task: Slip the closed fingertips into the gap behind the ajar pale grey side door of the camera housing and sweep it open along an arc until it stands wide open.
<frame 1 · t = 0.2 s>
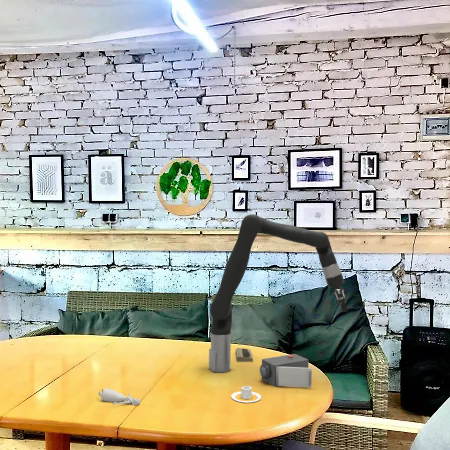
hand: (345, 309, 224), 31 cm above the table, tool tilted 20°, fingers open, 8 cm apart
camera housing: (284, 379, 223), on the table
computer: (243, 358, 256), on the table
candle holder: (246, 398, 202), on the table
side door: (293, 377, 213), point 4 cm above the table, hinge at 35.0°
woman figurine: (119, 402, 197), on the table
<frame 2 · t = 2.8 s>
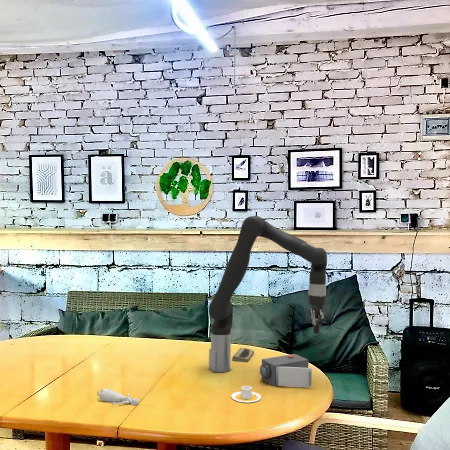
hand: (316, 333, 220), 21 cm above the table, tool pointing down, fingers closed
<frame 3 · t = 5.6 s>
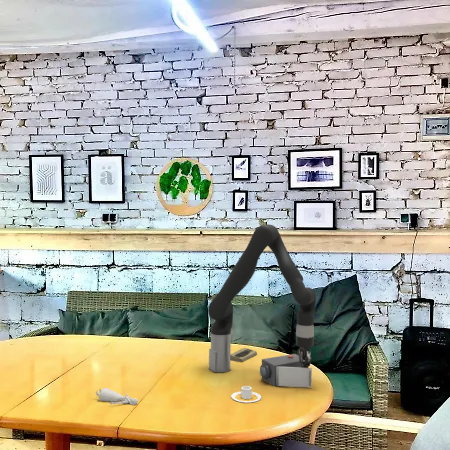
hand: (304, 374, 216), 5 cm above the table, tool pointing down, fingers closed
side door: (293, 377, 213), point 4 cm above the table, hinge at 35.0°, touching gripper
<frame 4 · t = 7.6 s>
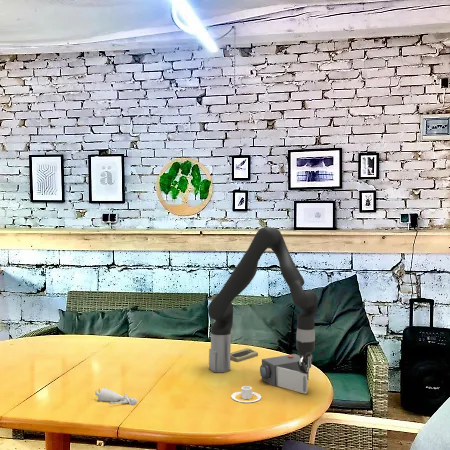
hand: (305, 380, 209), 5 cm above the table, tool pointing down, fingers closed
side door: (290, 379, 210), point 4 cm above the table, hinge at 68.5°, touching gripper
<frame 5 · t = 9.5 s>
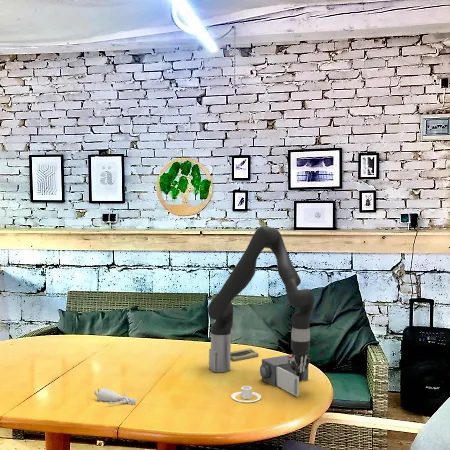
hand: (299, 380, 205), 6 cm above the table, tool pointing down, fingers closed
side door: (286, 381, 208), point 5 cm above the table, hinge at 89.5°
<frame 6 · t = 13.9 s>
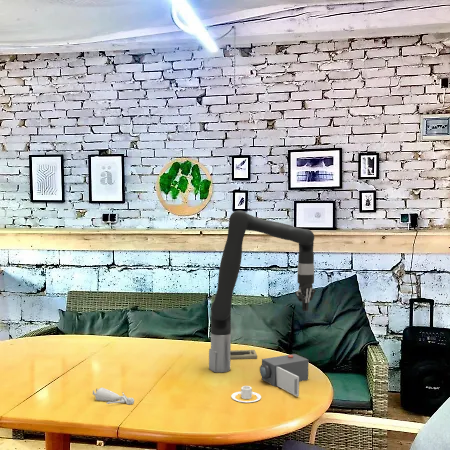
hand: (305, 310, 231), 29 cm above the table, tool pointing down, fingers closed
at the end: side door at +90° (first picture: +35°); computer moved 1.9 cm from its start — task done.
